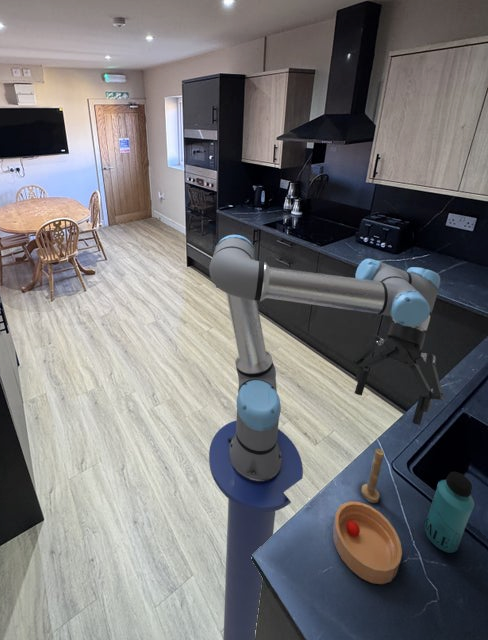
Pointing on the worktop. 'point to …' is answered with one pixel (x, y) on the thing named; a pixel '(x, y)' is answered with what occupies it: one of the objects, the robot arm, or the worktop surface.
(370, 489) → the wooden peg
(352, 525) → the cherry tomato
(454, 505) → the beverage bottle
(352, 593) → the worktop surface
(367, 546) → the bowl
